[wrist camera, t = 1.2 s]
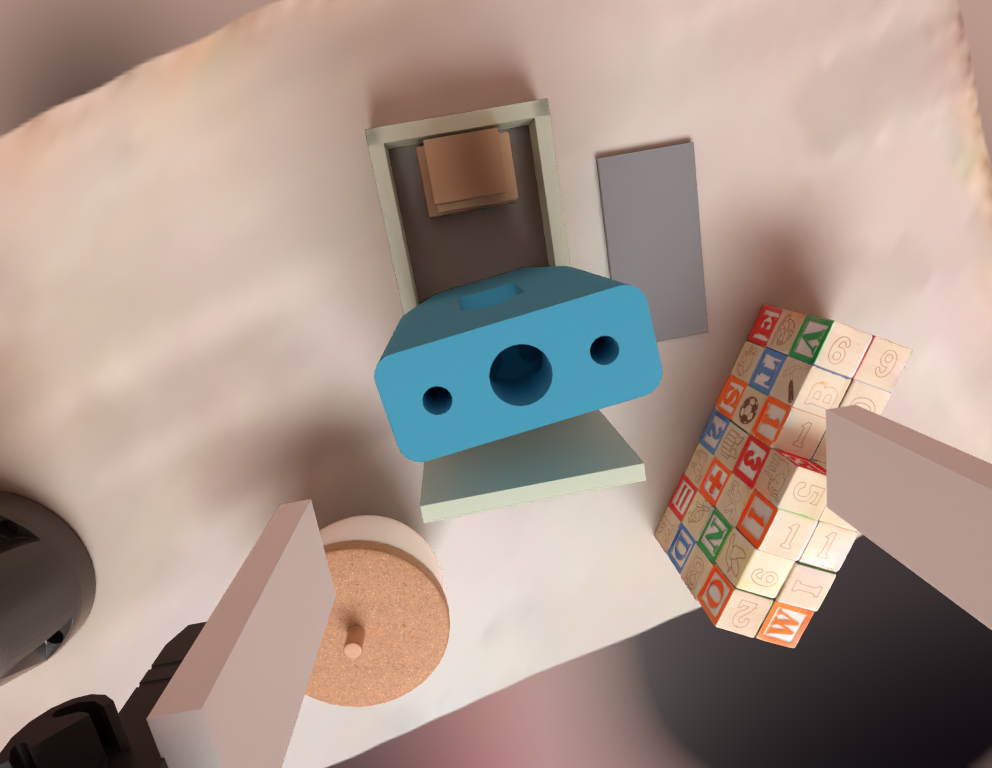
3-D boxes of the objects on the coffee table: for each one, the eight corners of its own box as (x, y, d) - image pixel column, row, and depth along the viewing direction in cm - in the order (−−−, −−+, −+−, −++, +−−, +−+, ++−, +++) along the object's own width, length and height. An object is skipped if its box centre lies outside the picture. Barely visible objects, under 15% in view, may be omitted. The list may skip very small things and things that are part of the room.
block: (556, 257, 44) (642, 278, 25) (573, 321, 45) (666, 388, 26) (402, 303, 44) (367, 361, 25) (423, 366, 45) (405, 467, 26)
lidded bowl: (447, 624, 51) (447, 728, 41) (298, 626, 50) (258, 733, 40) (450, 489, 48) (452, 563, 38) (291, 489, 47) (246, 565, 36)
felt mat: (618, 347, 46) (620, 348, 46) (596, 159, 43) (597, 158, 42) (705, 331, 46) (707, 332, 46) (691, 142, 43) (693, 141, 42)
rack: (431, 426, 47) (423, 523, 31) (370, 136, 41) (324, 80, 26) (580, 398, 47) (646, 480, 32) (540, 107, 41) (596, 34, 26)
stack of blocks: (760, 301, 46) (868, 325, 35) (828, 327, 47) (956, 359, 36) (652, 536, 51) (715, 630, 39) (716, 556, 52) (796, 653, 40)
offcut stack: (430, 217, 43) (427, 215, 35) (417, 151, 42) (411, 135, 34) (512, 203, 43) (525, 198, 36) (501, 137, 42) (513, 118, 34)
